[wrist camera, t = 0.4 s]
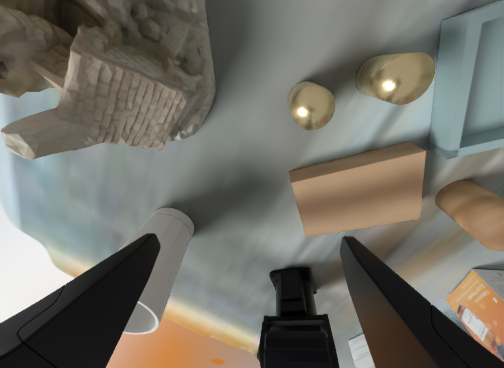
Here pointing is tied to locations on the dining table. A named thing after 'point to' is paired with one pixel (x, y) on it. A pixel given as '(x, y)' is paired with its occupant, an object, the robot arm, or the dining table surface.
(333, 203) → the board
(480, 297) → the small box
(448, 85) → the tray
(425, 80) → the peg
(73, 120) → the ceramic cottage
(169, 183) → the dining table surface
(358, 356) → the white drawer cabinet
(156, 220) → the cup
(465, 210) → the dowel
